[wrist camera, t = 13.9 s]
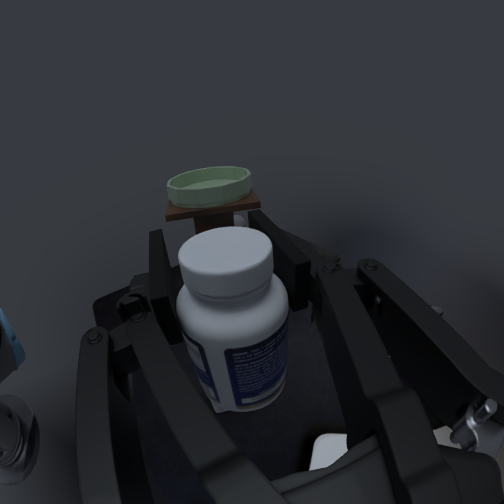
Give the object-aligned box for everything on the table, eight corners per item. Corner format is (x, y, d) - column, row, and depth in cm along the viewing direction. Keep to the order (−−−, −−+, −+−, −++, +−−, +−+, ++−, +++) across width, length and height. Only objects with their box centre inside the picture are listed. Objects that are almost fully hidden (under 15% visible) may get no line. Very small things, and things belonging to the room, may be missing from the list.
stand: (199, 349, 49) (164, 215, 35) (197, 305, 60) (172, 188, 46) (267, 338, 51) (260, 201, 37) (254, 296, 62) (244, 177, 48)
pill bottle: (291, 353, 18) (297, 222, 13) (277, 421, 13) (279, 293, 8) (217, 342, 19) (193, 217, 14) (190, 402, 15) (137, 275, 10)
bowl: (166, 214, 35) (162, 194, 34) (173, 188, 46) (171, 173, 45) (258, 200, 37) (257, 181, 36) (243, 178, 48) (242, 163, 46)
